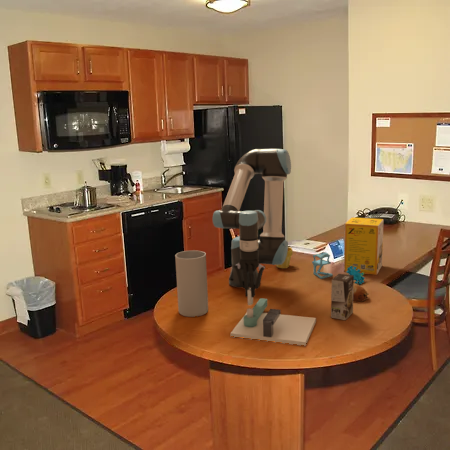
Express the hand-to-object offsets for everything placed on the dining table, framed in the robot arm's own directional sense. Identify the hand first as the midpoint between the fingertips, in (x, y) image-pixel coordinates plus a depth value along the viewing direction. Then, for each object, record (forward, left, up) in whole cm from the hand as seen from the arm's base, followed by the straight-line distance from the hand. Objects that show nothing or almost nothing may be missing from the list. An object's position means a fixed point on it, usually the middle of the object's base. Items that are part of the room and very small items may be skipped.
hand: (250, 304), depth 211 cm
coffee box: (+37, +6, -4) cm, 37 cm away
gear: (+38, +48, -4) cm, 61 cm away
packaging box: (+40, +70, -4) cm, 81 cm away
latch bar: (+5, -7, -2) cm, 9 cm away
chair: (+21, +54, -4) cm, 58 cm away
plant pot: (-1, +64, -4) cm, 64 cm away
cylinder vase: (-23, -6, -4) cm, 24 cm away
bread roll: (+40, +27, -4) cm, 49 cm away
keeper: (+14, -18, -2) cm, 23 cm away
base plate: (+14, -14, -4) cm, 20 cm away
